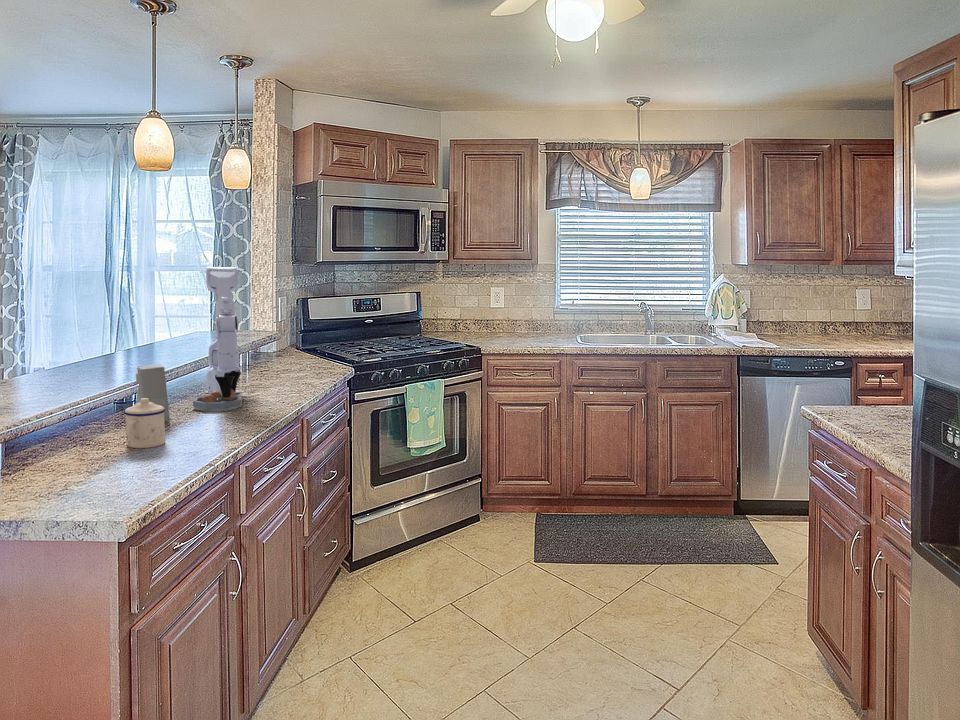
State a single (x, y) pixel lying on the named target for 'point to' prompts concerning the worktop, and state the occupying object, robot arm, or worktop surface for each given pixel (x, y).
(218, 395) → the bead
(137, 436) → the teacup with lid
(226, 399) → the bead
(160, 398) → the skincare box
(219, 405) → the groove tray
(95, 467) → the worktop surface
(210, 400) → the bead seated
